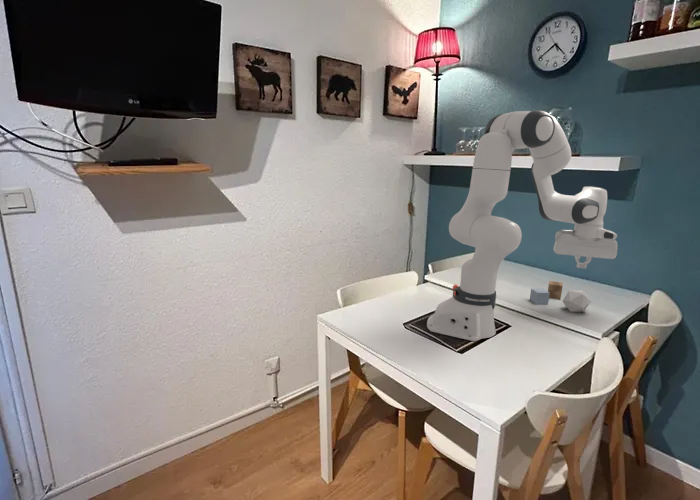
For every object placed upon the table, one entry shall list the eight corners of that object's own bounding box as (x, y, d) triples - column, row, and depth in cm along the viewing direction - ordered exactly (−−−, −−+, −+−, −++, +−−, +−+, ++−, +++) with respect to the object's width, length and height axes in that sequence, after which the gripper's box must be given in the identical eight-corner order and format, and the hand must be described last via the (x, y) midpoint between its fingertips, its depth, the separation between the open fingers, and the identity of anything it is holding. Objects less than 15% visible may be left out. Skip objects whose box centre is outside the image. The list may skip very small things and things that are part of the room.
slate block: (535, 304, 156) (537, 292, 154) (529, 300, 160) (531, 288, 159) (548, 304, 156) (549, 292, 155) (541, 300, 161) (543, 288, 160)
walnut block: (547, 297, 163) (548, 284, 162) (547, 294, 168) (549, 280, 166) (560, 299, 161) (562, 286, 160) (560, 296, 166) (562, 282, 164)
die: (587, 318, 144) (599, 296, 145) (566, 305, 145) (578, 283, 146) (574, 317, 152) (585, 296, 154) (554, 305, 153) (566, 284, 154)
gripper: (557, 230, 143) (552, 266, 146) (622, 235, 137) (615, 273, 140) (554, 227, 149) (549, 262, 152) (616, 232, 143) (609, 268, 146)
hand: (581, 267), depth 146 cm, fingers closed
